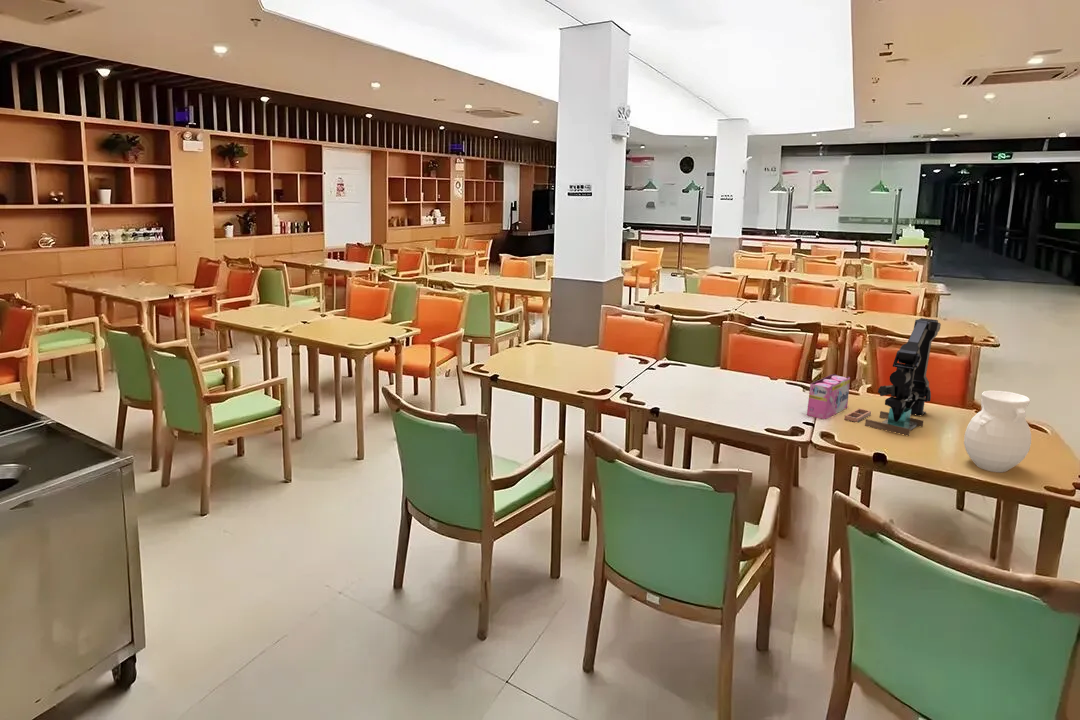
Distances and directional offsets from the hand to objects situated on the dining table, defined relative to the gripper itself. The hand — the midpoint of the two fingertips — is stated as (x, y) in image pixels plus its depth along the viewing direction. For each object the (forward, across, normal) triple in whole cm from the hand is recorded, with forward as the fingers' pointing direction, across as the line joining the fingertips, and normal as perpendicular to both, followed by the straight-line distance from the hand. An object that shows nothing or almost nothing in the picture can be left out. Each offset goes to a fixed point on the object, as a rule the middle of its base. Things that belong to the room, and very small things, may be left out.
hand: (898, 419), depth 272 cm
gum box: (+3, +1, -27) cm, 28 cm away
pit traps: (+3, 0, -16) cm, 16 cm away
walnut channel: (+3, 0, -2) cm, 3 cm away
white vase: (+3, +19, +37) cm, 41 cm away
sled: (+3, 0, 0) cm, 3 cm away
